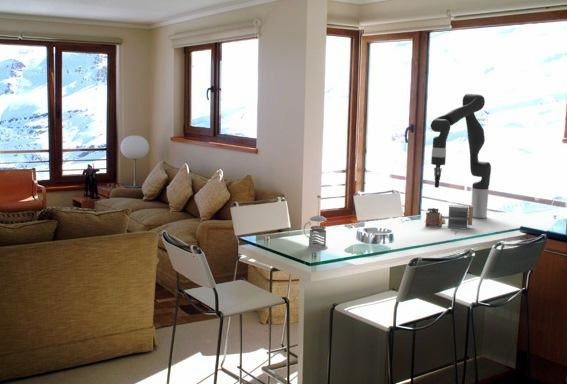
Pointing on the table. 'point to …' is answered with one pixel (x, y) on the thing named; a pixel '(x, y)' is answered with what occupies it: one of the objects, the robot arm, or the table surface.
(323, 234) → the french press
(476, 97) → the robot arm
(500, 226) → the table surface
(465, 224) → the grey box
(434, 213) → the lighter
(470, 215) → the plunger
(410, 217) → the table surface
